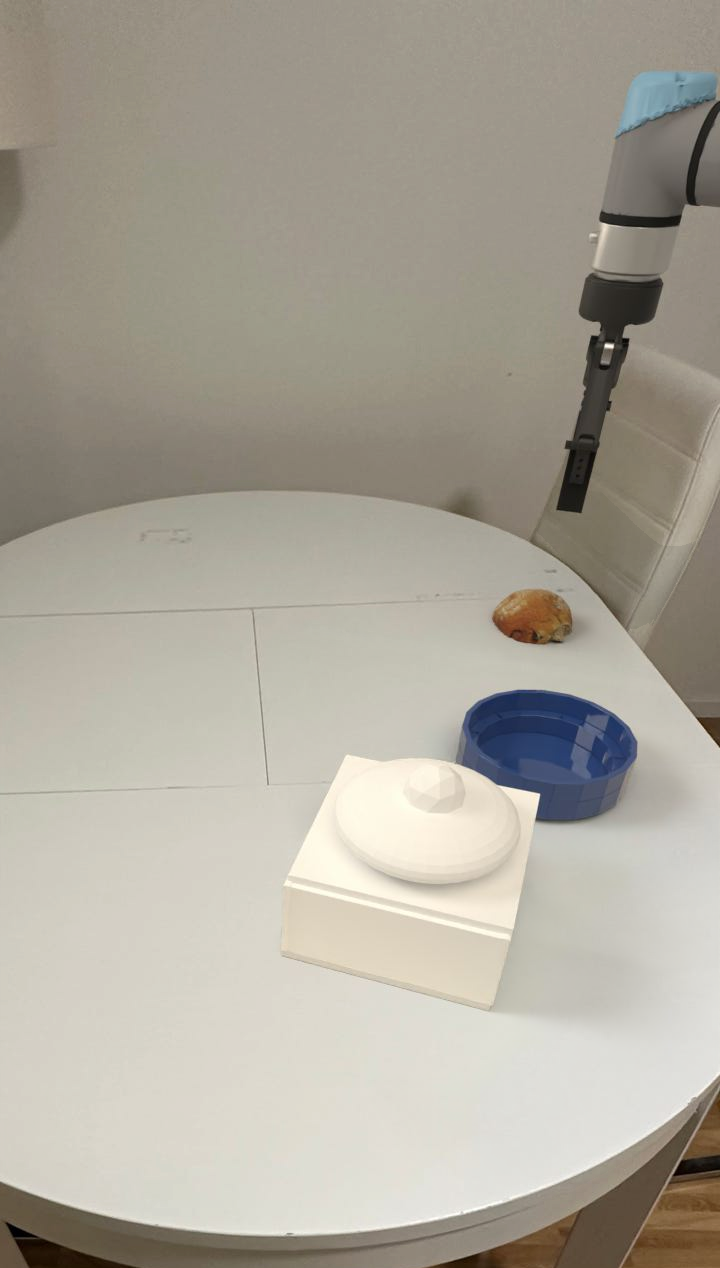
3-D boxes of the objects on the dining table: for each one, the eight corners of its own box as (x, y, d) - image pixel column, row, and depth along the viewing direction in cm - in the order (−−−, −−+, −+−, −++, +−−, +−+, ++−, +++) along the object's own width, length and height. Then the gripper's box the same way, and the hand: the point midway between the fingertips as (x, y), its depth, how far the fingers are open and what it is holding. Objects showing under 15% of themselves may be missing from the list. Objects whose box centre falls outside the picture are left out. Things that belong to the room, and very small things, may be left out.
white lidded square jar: (280, 956, 77) (286, 808, 66) (338, 828, 90) (350, 687, 79) (490, 1012, 72) (532, 863, 62) (520, 869, 85) (558, 725, 74)
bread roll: (556, 650, 123) (562, 589, 121) (581, 655, 113) (589, 588, 111) (482, 649, 124) (487, 588, 121) (501, 654, 114) (507, 587, 112)
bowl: (626, 744, 100) (639, 705, 97) (620, 839, 88) (635, 798, 85) (469, 716, 105) (476, 678, 101) (443, 803, 92) (450, 763, 89)
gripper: (593, 252, 101) (549, 451, 115) (578, 295, 83) (528, 524, 97) (665, 256, 99) (611, 458, 113) (665, 301, 81) (601, 534, 95)
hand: (573, 489), depth 105 cm, fingers open, 13 cm apart
